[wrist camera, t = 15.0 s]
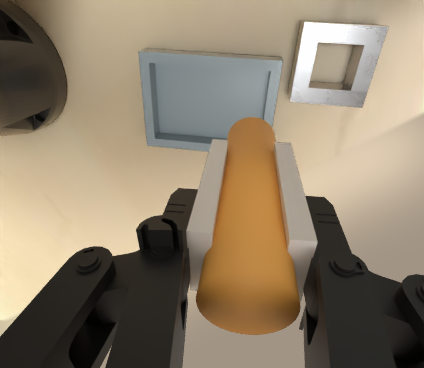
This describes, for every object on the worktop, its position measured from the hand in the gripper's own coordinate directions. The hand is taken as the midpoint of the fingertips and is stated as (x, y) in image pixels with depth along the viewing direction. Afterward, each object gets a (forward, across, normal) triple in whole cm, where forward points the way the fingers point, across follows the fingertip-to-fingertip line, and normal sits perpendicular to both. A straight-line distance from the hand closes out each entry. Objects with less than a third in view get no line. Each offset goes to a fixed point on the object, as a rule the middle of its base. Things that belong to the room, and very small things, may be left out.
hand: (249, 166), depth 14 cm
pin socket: (+20, +8, +2) cm, 21 cm away
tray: (+20, -4, -3) cm, 21 cm away
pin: (+3, 0, 0) cm, 3 cm away
